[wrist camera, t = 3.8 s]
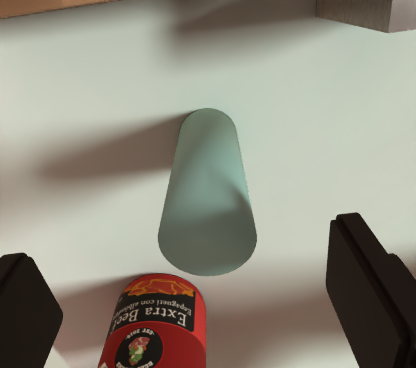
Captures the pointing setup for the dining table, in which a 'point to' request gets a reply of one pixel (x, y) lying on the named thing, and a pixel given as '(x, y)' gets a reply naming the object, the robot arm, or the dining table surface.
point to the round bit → (207, 199)
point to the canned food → (157, 326)
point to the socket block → (40, 6)
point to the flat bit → (370, 13)
